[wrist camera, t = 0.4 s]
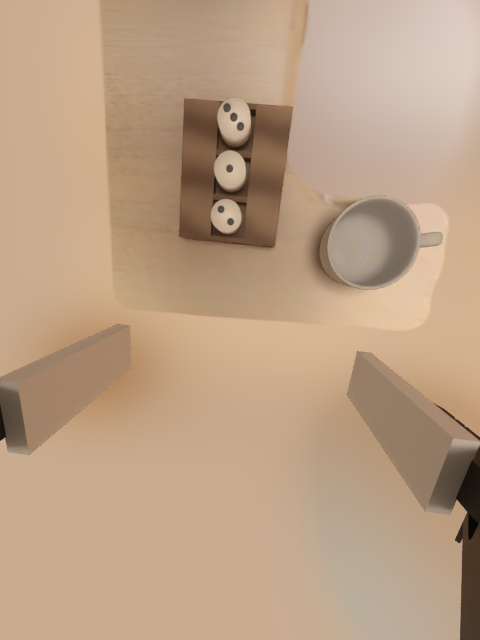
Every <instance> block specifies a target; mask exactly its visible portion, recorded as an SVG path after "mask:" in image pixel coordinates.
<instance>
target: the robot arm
mask: <svg viewBox="0 0 480 640" xmlns="http://www.w3.org/2000/svg"><path fill="white" fill-rule="evenodd" d="M130 350H131V347H130V326H129V325H120V324H117V325H114V326H112V327H110V328H108V329H106V330H103V331H101V332H99V333H97V334H95V335H92V336H90V337H88V338H86V339H84V340H81V341H79V342H77V343H75V344H72V345H70V346H68V347H66V348H64V349H62V350H59V351H57V352H55V353H53V354H50V355H48V356H46V357H44V358H41V359H39V360H37V361H35V362H33V363H30V364H28V365H26V366H24V367H22V368H19V369H17V370H15V371H13V372H11V373H8V374H6V375H4V376H2V377H0V441H1V440H2V439H4V438H6V444H7V449H8V452H11V453H18V454H25V455H30V454H31V453H32V452H34V451H35V450H36V449H37V448H38V447H39V446H41V445H42V444H43V443H44V442H45V441H46V440H48V439H49V438H50V437H51V436H52V435H54V434H55V433H56V432H57V431H58V430H59V429H60V428H62V427H63V426H64V425H65V424H66V423H68V422H69V421H70V420H71V419H72V418H73V417H75V416H76V415H77V414H78V413H79V412H80V411H81V410H83V409H84V408H85V407H86V406H88V405H89V404H90V403H91V402H92V401H93V400H95V399H96V398H97V397H98V396H99V395H100V394H102V393H103V392H104V391H105V390H106V389H107V388H109V387H110V386H111V385H112V384H113V383H114V382H116V381H117V380H118V379H119V378H120V377H122V376H123V375H124V374H125V373H126V372H127V371H129V370H130V369H131V351H130ZM347 396H348V397H349V399H350V400H351V402H352V403H353V405H354V406H355V408H356V409H357V411H358V412H359V414H360V415H361V416H362V418H363V420H364V421H365V422H366V424H367V426H368V427H369V428H370V430H371V431H372V433H373V434H374V436H375V437H376V439H377V440H378V442H379V443H380V445H381V446H382V448H383V449H384V451H385V452H386V454H387V455H388V457H389V458H390V460H391V461H392V462H393V464H394V466H395V467H396V469H397V470H398V472H399V473H400V475H401V476H402V478H403V479H404V481H405V482H406V484H407V485H408V487H409V488H410V490H411V491H412V493H413V494H414V496H415V497H416V499H417V500H418V502H419V503H420V504H421V506H422V508H423V509H424V511H426V512H434V513H440V514H448V515H450V514H451V512H452V509H453V507H454V505H455V502H456V500H458V501H459V502H460V504H461V505H462V506H463V507H464V508H465V510H466V511H467V514H466V516H465V519H464V521H463V523H462V525H461V528H460V530H459V532H458V534H457V536H456V539H455V541H457V542H458V543H460V542H461V540H462V539H463V546H462V548H463V549H462V550H463V551H462V586H461V626H460V640H480V437H479V436H477V435H476V434H475V433H474V432H472V431H471V430H470V429H469V428H467V427H465V426H464V425H463V424H462V423H461V422H460V421H459V420H456V419H455V417H454V416H452V415H451V414H450V413H448V412H447V411H446V410H445V409H443V408H441V407H440V406H438V405H436V404H434V403H432V402H431V401H430V400H429V399H427V398H426V397H425V396H424V395H422V394H421V393H420V392H419V391H418V390H416V389H415V388H414V387H413V386H411V385H410V384H409V383H408V382H406V381H405V380H404V379H403V378H401V377H400V376H399V375H398V374H396V373H395V372H394V371H393V370H392V369H390V368H389V367H387V366H386V365H385V364H384V363H383V362H382V361H380V360H379V359H378V358H377V357H375V356H374V355H373V354H372V353H367V352H359V351H357V354H356V358H355V363H354V367H353V371H352V375H351V379H350V384H349V388H348V392H347Z"/></svg>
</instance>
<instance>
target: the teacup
mask: <svg viewBox="0 0 480 640" xmlns="http://www.w3.org/2000/svg"><path fill="white" fill-rule="evenodd" d="M442 238H443V236H442V233H441V232H432V233H424V234H421V232H420V227H419V224H418V221H417V218H416V216H415V214H414V213H413V211H412V210H411V209H410V208H409V207H408V206H407V205H406V204H405V203H403V202H402V201H400V200H398V199H396V198H392V197H388V196H379V195H377V196H370V197H366V198H363V199H360V200H358V201H356V202H354V203H353V204H351V205H349V206H348V207H347V208H346V209H345V210H344V211H343V212H342V213H341V214H340V215H339V216H338V217H337V218H336V219H335V220H334V221H333V222H332V223H331V224H330V225H329V226H328V228H327V229H326V231H325V233H324V235H323V237H322V240H321V243H320V251H319V252H320V260H321V264H322V266H323V268H324V270H325V271H326V273H327V274H328V275H329V276H330V277H331V278H332V279H334V280H335V281H337V282H339V283H341V284H344V285H347V286H351V287H355V288H358V289H365V290H374V289H379V288H383V287H386V286H388V285H391V284H393V283H395V282H396V281H398V280H399V279H400V278H401V277H403V276H404V275H405V274H406V273H407V272H408V271H409V269H410V268H411V267H412V265H413V263H414V262H415V259H416V257H417V254H418V251H419V248H421V247H430V246H438V245H440V244H441V243H442Z"/></svg>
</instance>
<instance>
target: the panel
mask: <svg viewBox="0 0 480 640" xmlns="http://www.w3.org/2000/svg"><path fill="white" fill-rule="evenodd" d="M223 102H224V101H210V100H197V99H184V124H183V150H182V177H181V203H180V230H179V237H182V238H185V239H195V240H205V241H215V242H224V243H234V244H244V245H254V246H263V247H274V246H275V238H276V230H277V223H278V215H279V208H280V200H281V193H282V185H283V177H284V170H285V162H286V155H287V147H288V140H289V132H290V125H291V117H292V109H293V107H289V106H276V105H263V104H250V103H246V104H247V105H248V107H249V110H250V116H251V134H250V137H249V139H248V140H247V142H246V143H245V144H244V145H242V146H240V147H231V146H229V145H227V144H226V143H225V142H224V140H223V138H222V136H221V132H220V129H219V125H218V120H217V115H218V110H219V108H220V106H221V104H222V103H223ZM229 150H231V151H235V152H237V153H239V154H240V155H241V156H242V158H243V159H244V162H245V167H246V182H245V184H244V186H243V187H242V188H241V189H240V190H239V191H237V192H233V193H231V192H227V191H225V190H223V189H222V188H221V186H220V185H219V183H218V181H217V179H216V176H215V173H214V164H215V161H216V159H217V157H218V156H219V155H220V154H221V153H223V152H225V151H229ZM222 199H230V200H232V201H234V202H235V203H236V204H237V205H238V206H239V208H240V211H241V214H242V224H241V226H240V228H239V229H238V230H237V231H236V232H235V233H233V234H224V233H222V232H220V231H219V230H218V229H217V228H216V227H215V226H214V225H213V223H212V220H211V210H212V208H213V206H214V205H215V203H217V202H218V201H219V200H222Z"/></svg>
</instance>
